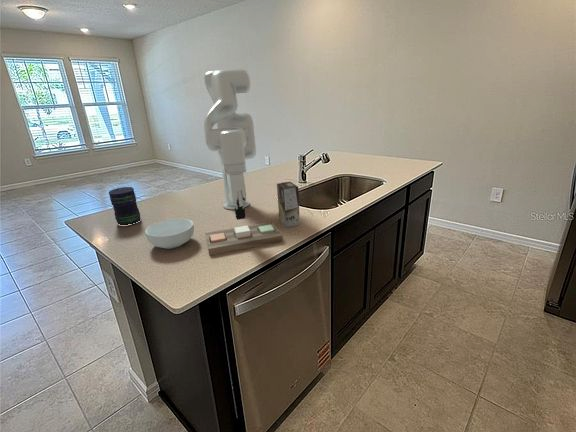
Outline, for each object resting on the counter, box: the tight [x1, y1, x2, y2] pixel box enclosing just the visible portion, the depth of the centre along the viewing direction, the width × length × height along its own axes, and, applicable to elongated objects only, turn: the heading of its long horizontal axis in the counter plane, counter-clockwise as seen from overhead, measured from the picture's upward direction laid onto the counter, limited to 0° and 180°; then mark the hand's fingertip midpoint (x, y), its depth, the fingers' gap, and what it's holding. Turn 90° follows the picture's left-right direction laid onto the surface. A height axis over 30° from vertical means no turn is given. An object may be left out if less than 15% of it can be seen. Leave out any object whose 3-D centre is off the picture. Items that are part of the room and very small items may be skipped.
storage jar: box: [108, 186, 142, 225], centre depth 136 cm, size 10×10×15 cm
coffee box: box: [276, 181, 301, 228], centre depth 126 cm, size 9×6×16 cm
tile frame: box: [204, 221, 283, 256], centre depth 115 cm, size 14×26×2 cm, turn 108°
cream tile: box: [233, 225, 251, 239], centre depth 114 cm, size 5×5×3 cm
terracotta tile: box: [210, 233, 226, 243], centre depth 112 cm, size 5×5×3 cm
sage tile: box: [258, 225, 274, 234], centre depth 117 cm, size 5×5×3 cm
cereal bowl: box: [144, 218, 195, 250], centre depth 115 cm, size 17×17×7 cm
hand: (240, 218), depth 112 cm, fingers closed
